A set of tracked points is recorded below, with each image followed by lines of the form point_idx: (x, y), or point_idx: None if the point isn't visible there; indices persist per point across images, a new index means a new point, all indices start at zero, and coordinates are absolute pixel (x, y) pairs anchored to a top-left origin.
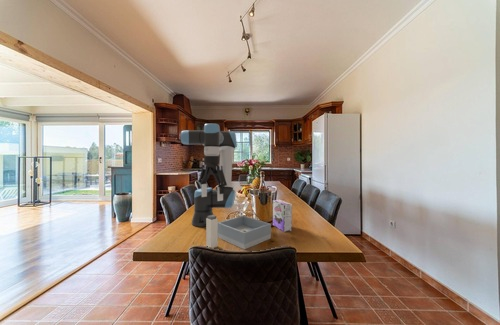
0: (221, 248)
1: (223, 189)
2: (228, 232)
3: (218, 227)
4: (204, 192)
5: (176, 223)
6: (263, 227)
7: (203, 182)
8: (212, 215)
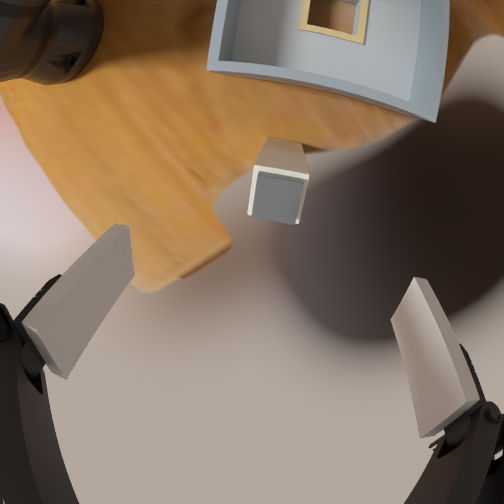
0: (327, 149)
1: (478, 381)
2: (314, 85)
3: (225, 72)
4: (109, 282)
5: (20, 122)
6: (446, 9)
7: (29, 371)
8: (269, 188)
